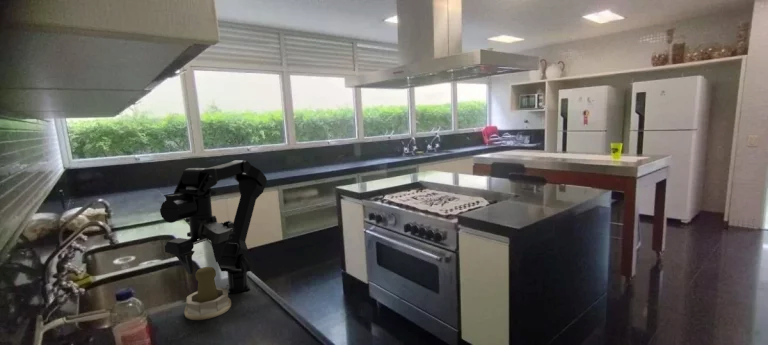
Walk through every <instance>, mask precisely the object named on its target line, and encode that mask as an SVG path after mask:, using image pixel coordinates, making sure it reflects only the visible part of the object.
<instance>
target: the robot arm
mask: <svg viewBox="0 0 768 345" xmlns="http://www.w3.org/2000/svg"><path fill="white" fill-rule="evenodd" d="M231 177H234V180H235V181H236V182H237V183H238V185H237V188H238V192H239V194H240V198H239V200H238V205H237V208H236V212H235V216H234V219H233V221H231V220H227V221H224V222H218V220H217V217H216V215H213V209H212V197H211V196H215V195H216V194H217V192H216V191H215V190H213V189H212V188H213V187H215V186H216V185H217V184H218V182H219V181H221V180H225V179H227V178H231ZM267 181H268V180H267V177H266V175H265V174H264V173H263V172H262V171H261V170H260V169H258V167H255V166H253V165H252V164H251V163H250V162H249V161H247V160H246V159H245V160H237V159H235V160H233V161H230V162H226V163H223V164H218V165H215V166H211V167H189V168H186V169H184V170H183V172H182V174H181V177H180V178H179V181H178V183H177V185H176V187H175V189H174V192H173V194H168V195H165V201H163V202H162V203H161V206H160V208H159V213H160V216H161V218H162V220H164V221H165V222H167V223H169V224H172V223H176V222H179V221H183V220H185V222H186V223H189V232H186V236H187V238H183V237H177V238H174V239H171V240H167V241H166V242H165V244H164V252H165V253H168V254H170V255H173V256H175V257H176V258H177V259H178V261H179V262H180V263H181V265H182V267H183V268H184V269H185V271H186V272H187V274H188V275H193V271H194V267H193V255H194V253H195V252H196V251H195V250H193V249H194V245H197V244H199V243H200V244H201V243H202V242H205V241H210V243H211V247H212V252H213V257H214V260H215V262H216V263H217V265H218V267H219V269H220V272H226V273H227V282H228V283H227V285H226V289H227V292H228V295H230V294H231V295H232V294H235V293H236V294H237V293H241V292H244V291H250V290H251V287H250V284H249V281H248V273H249V272H251V271H252V269H254V263H255V262H254V260H252V259H251V258H250V257H249V256H248V254H249V249H248V247H247V246H248V245H247V243H246V240H247V237H248V231H249V228H250V225H251V221H252V217H253V213H254V209H255V205H256V202H257V199H258V198H259V197H260V196H261V195H262V194H263V193H264V191H265V187H266V185H267V183H268V182H267Z"/></svg>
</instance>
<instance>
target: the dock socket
mask: <svg viewBox="0 0 768 345" xmlns="http://www.w3.org/2000/svg"><path fill="white" fill-rule="evenodd" d="M216 289H217V293H218V297H219V298H217V299H215V300H212V301H208V302H203V303H199V302H197V293H198V290H197V291H195V292H193V293H191V294H189V295H187V297H186V306H185V308H184V311H183V312H184V316H185V318H186V319H188V320H193V321H202V320H209V319H213V318H217V317H219V316H221V315H223V314H225V313H226V312H228V311H229V310H230V309H231V307H232V299H231V298H230V297H229V294H228V290H227V287H225V288H224V287H219V286H216Z"/></svg>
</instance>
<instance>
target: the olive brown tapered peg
mask: <svg viewBox="0 0 768 345" xmlns="http://www.w3.org/2000/svg"><path fill="white" fill-rule="evenodd" d="M216 272H217V270H216V269H215V268H214V267H212V266H205V267H201V268H199V269H197V271H195V279H196V281H197V291H198V293H197V302H199V303H203V302H208V301H212V300H215V299H217V298H219V297H218V293H217V289H216V287H217V284H216V281H215V280H216V279H215V278H216V276H217V273H216Z"/></svg>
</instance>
